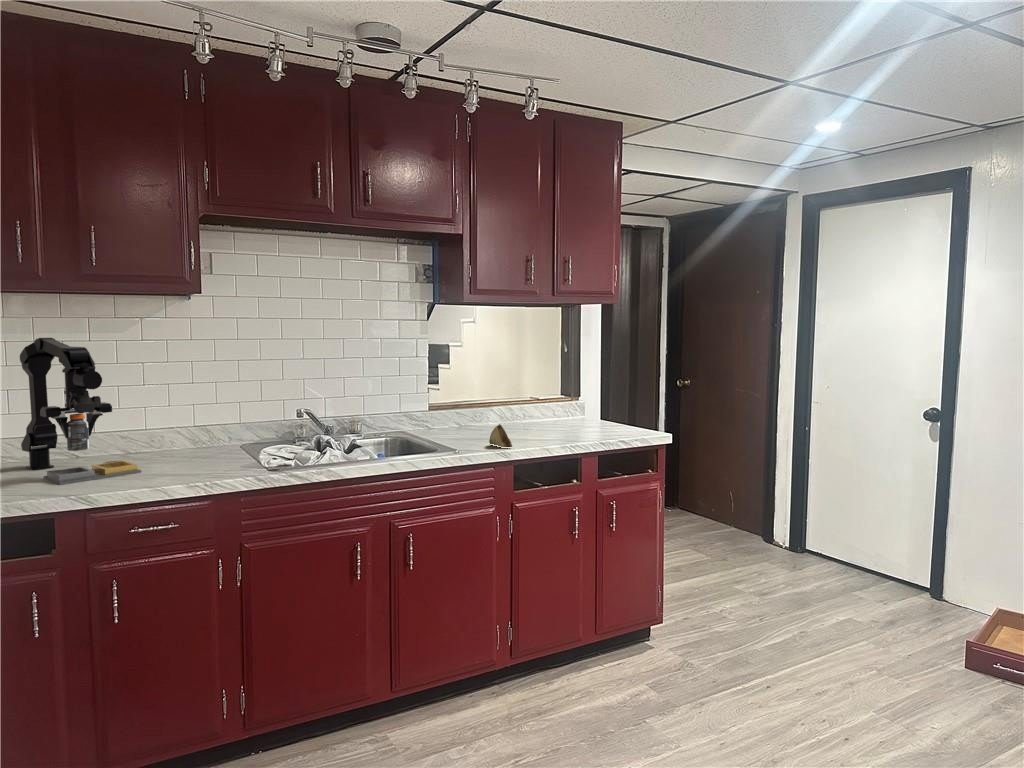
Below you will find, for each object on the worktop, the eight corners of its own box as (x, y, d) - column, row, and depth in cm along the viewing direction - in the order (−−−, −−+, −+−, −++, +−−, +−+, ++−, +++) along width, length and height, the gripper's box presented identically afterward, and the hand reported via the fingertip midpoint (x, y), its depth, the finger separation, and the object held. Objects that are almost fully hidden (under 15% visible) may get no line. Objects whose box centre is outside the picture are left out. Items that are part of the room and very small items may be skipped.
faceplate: (43, 478, 225) (43, 470, 225) (123, 467, 244) (123, 459, 244) (59, 485, 217) (59, 476, 217) (141, 472, 236) (141, 464, 236)
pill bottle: (93, 448, 230) (92, 413, 229) (82, 451, 224) (81, 415, 223) (74, 448, 229) (73, 412, 228) (63, 451, 224) (61, 415, 223)
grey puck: (98, 468, 244) (97, 463, 243) (118, 464, 250) (117, 459, 250) (110, 470, 240) (110, 465, 240) (130, 466, 246) (130, 461, 246)
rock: (482, 439, 293) (486, 440, 283) (494, 422, 294) (498, 422, 284) (503, 455, 294) (508, 456, 284) (515, 438, 295) (520, 438, 286)
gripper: (51, 391, 213) (54, 443, 214) (118, 387, 227) (120, 436, 228) (38, 388, 220) (40, 439, 221) (104, 385, 234) (105, 432, 235)
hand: (78, 437), depth 226 cm, fingers closed on pill bottle, 6 cm apart
